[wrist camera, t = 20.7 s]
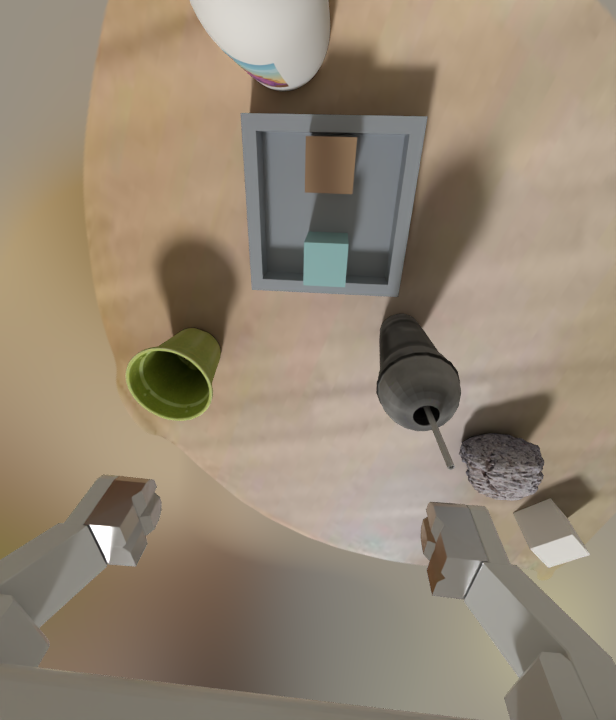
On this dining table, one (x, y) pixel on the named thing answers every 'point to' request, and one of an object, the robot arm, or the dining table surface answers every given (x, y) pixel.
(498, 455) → the pumice stone
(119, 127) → the dining table surface
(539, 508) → the white cube
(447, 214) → the dining table surface
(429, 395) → the beverage cup
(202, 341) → the plant pot
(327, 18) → the milk bottle
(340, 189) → the walnut block
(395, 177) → the tray
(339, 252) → the teal block
